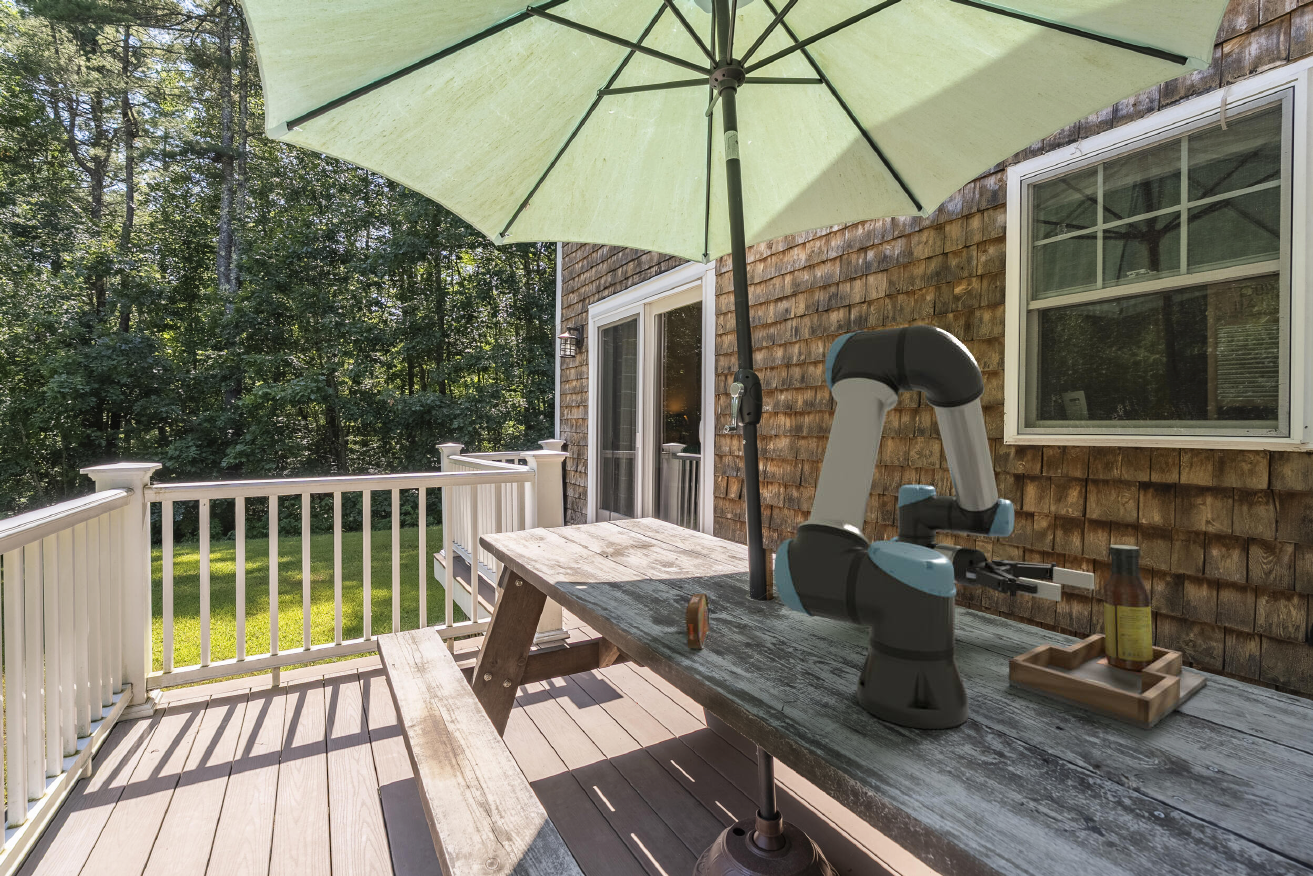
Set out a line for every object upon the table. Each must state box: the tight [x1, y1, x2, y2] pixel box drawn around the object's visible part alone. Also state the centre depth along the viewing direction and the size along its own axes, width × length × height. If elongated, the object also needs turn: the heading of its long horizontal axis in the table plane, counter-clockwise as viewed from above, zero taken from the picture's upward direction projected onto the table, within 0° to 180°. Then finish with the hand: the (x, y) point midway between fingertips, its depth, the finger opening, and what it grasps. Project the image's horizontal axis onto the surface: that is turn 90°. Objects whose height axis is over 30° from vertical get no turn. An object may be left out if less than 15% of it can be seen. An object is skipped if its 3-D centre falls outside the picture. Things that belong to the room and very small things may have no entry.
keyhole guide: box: [1008, 632, 1208, 731], centre depth 97 cm, size 26×18×4 cm
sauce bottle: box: [1103, 544, 1153, 671], centre depth 102 cm, size 6×6×20 cm
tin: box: [685, 592, 710, 650], centre depth 118 cm, size 15×3×8 cm, turn 168°
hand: (1077, 587), depth 108 cm, fingers open, 13 cm apart
